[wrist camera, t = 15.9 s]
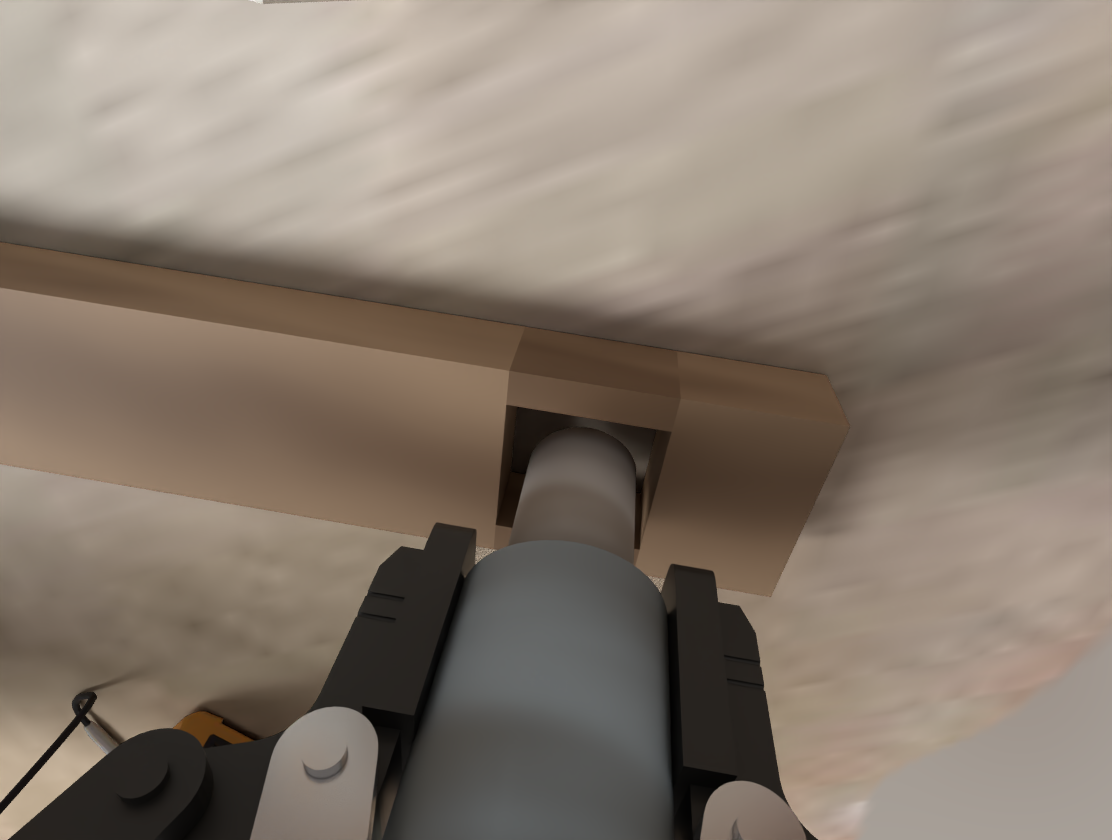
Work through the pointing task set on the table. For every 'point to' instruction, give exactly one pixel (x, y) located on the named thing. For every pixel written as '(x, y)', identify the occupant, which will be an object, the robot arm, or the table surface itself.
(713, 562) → the bar
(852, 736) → the table surface
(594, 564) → the grey stepped cylinder
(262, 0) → the block
